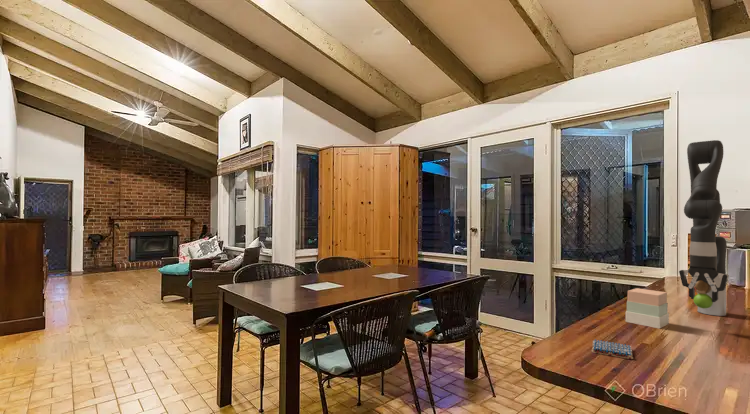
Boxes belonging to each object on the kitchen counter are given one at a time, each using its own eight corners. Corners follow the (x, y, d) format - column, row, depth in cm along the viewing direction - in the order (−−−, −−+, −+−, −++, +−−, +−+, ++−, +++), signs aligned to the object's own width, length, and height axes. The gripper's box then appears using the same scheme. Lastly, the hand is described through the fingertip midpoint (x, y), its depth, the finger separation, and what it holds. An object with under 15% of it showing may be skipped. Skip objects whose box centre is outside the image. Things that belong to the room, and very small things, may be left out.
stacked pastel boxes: (635, 317, 154) (635, 287, 155) (668, 323, 146) (668, 292, 146) (625, 321, 147) (625, 290, 148) (659, 328, 139) (659, 295, 139)
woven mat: (631, 350, 116) (631, 344, 116) (633, 361, 107) (633, 354, 107) (592, 344, 122) (592, 338, 122) (591, 354, 113) (591, 347, 113)
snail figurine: (720, 310, 136) (719, 276, 136) (701, 310, 136) (701, 276, 136) (707, 306, 141) (706, 274, 141) (689, 306, 141) (689, 274, 141)
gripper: (731, 255, 136) (731, 302, 135) (681, 251, 147) (681, 295, 147) (727, 256, 131) (727, 305, 131) (675, 253, 142) (675, 298, 142)
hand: (703, 300), depth 139 cm, fingers closed on snail figurine, 5 cm apart
